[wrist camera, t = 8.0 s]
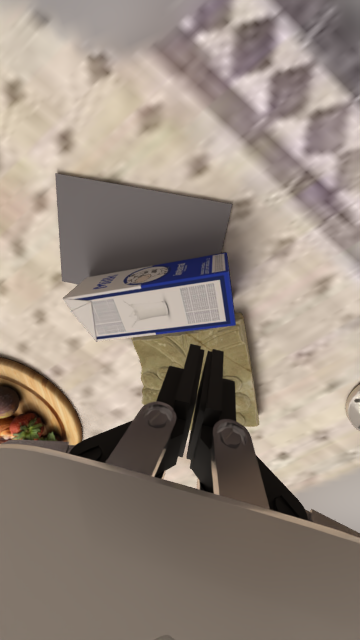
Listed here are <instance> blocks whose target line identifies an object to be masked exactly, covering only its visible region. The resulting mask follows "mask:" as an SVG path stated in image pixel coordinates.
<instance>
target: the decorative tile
mask: <svg viewBox="0 0 360 640" xmlns="http://www.w3.org/2000/svg"><path fill="white" fill-rule="evenodd" d="M234 314H235V321H236V325H235V326H227V327H219V328H210V329H201V330H193V331H184V332H175V333H167V334H158V335H149V336H141V337H132V338H131V339H132V341H133V344H134V347H135V350H136V352H137V354H138V356H139V359H140V363H141V366H142V372H141V374H142V375H141V381H142V383H143V385H144V387H143V389H142V394H143V397H142V403H143V404H144V405H146V404H148V403H150V402H156V400H157V397H158V395H159V392H160V389H161V387H162V384H163V381H164V378H165V376H166V373H167V370H168V368H169V366H174V367H178V368H182V369H184V365H185V362H186V358H187V354H188V351H189V347H190V344H194V345H198V346H201V349H203V350H205V351H204V357H203V363H202V369H201V375H200V381H201V377H202V373H203V369H204V365H205V361H206V356H207V352H208V351H212V350H213V349H216V350H220V351H224V360H223V378H224V379H228V380H233V381H235V396H236V422H238V423H240V424H242V425H243V426H247V427H254V426H258V425H259V417H258V411H257V403H256V396H255V389H254V382H253V376H252V367H251V361H250V355H249V348H248V343H247V336H246V330H245V324H244V319H243V316H242V314H241V313H239V312H238V313H234ZM200 381H199V385H200ZM198 389H199V387H198ZM197 393H198V392H197ZM194 410H195V408H194ZM193 416H194V413H193ZM192 422H193V417H192V421H191V425H190V429H189V430H191V428H192Z"/></svg>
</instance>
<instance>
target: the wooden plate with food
mask: <svg viewBox="0 0 360 640" xmlns="http://www.w3.org/2000/svg"><path fill="white" fill-rule="evenodd" d="M17 439H18V440H41V441H63V442H69V445H76V444H78V443H80V442H81V441H82V428H81V424H80V420H79V418H78V415H77V413H76V411H75V410H74V408H73V406H72V405H71V403H70V402H69V400H68V399H67V398H66V397H65V395H64V394H63V393H62V392H61V391H60V390H59V389H58V388H57V387H56V386H55V385H54V384H53V383H51V382H50V381H49V380H48V379H46V378H45V377H44V376H42V375H40V374H39V373H37V372H36V371H34V370H32V369H31V368H29V367H27V366H25V365H23V364H21V363H18V362H15V361H12V360H9V359H6V358H2V357H0V444H1V443H4V442H6V441H9V440H17Z"/></svg>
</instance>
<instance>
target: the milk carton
mask: <svg viewBox="0 0 360 640" xmlns="http://www.w3.org/2000/svg"><path fill="white" fill-rule="evenodd" d="M63 300H64V302H65V303H66V304H67V306H68V307H69V308H70V310H71V312H72V313H73V315H74V316H75V317H76V318H77V319H78V321H79V322H80V323H81V324H82V325H83V327H84V328H85V329H86V330H87V331H88V332H89V334H90V335H91V336H92V337H93V338H94V340H95V341H96V342H97V341H106V340H115V339H123V338H132V337H141V336H149V335H158V334H167V333H175V332H184V331H193V330H201V329H210V328H219V327H227V326H235V325H236V321H235V314H234V305H233V297H232V289H231V281H230V273H229V265H228V257H227V253H221V254H215V255H210V256H204V257H198V258H193V259H187V260H182V261H176V262H170V263H165V264H159V265H154V266H148V267H142V268H137V269H131V270H126V271H120V272H114V273H109V274H103V275H98V276H92V277H87V278H86V279H84V280H83V281H82V282H81V283H80V284H79V285H77V286H76V287H75V288H74V289H73V290H72V291H70V292H69V293H68V294H67V295H66V296H65V297H63Z"/></svg>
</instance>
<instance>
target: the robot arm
mask: <svg viewBox="0 0 360 640" xmlns="http://www.w3.org/2000/svg"><path fill="white" fill-rule="evenodd" d="M204 351H205V350H203V349H201V346H198V345H194V344H190V347H189V351H188V354H187V358H186V362H185V365H184V369H182V368H178V367H174V366H169V368H168V370H167V373H166V376H165V378H164V381H163V384H162V387H161V389H160V392H159V395H158V397H157V400H156V402H150V403H148V404H146V405H144V406H143V407H142V408H141V409H140V411H139V412H138V414H137V416H136V417H135V419H134V420H133V421H130V422H128V423H125V424H123V425H120V426H118V427H115V428H113V429H110V430H108V431H105V432H103V433H100V434H98V435H95V436H93V437H90V438H88V439H86V440H83V441H81V442H80V443H78V444H76V445H69V442H63V441H41V440H18V439H17V440H9V441H6V442H4V443H1V444H0V640H360V533H358V532H356V531H354V530H352V529H350V528H348V527H346V526H344V525H342V524H340V523H338V522H336V521H334V520H332V519H330V518H328V517H326V516H325V515H322V514H321V513H319V512H316V511H315V510H312V509H311V510H310V512H309V511H307V510H305V509H304V507H303V506H302V504H301V503H300V502H299V500H298V499H297V498H296V497H295V496H294V495H293V494H292V493H291V492H290V491H289V490H288V489H287V487H286V486H285V485H284V484H283V483H282V482H281V481H280V480H279V479H278V478H277V477H276V476H275V475H274V474H273V473H272V472H271V471H270V469H269V468H268V467H267V466H266V465H265V464H264V463H263V462H262V461H261V460H260V459H259V458H258V457H257V456H256V454H255V450H254V447H253V443H252V439H251V436H250V434H249V432H248V430H247V429H246V428H245V427H244V426H243V425H242V424H240V423H238V422H236V396H235V381H233V380H228V379H224V378H223V360H224V351H220V350H216V349H213V350H212V351H208V352H207V356H206V361H205V365H204V369H203V373H202V377H201V381H200V375H201V369H202V363H203V357H204ZM199 381H200V385H199ZM198 387H199V389H198ZM197 392H198V393H197ZM194 408H195V410H194ZM345 409H346V414H347V416H348V418H349V420H350V422H351V423H352V425H353V426H354V427H355V428H356V429H357V430H359V431H360V384H359V385H358V386H357V387H356V388H355V389H354V390H353V391H352V392H351V394H350V395H349V397H348V399H347V402H346V408H345ZM193 413H194V416H193ZM192 417H193V422H192V428H191V434H190V440H189V446H188V452H187V459H190V460H191V464H190V469H192V470H193V472H194V473H195V475H196V476H197V477H198V479H197V489H195V488H192V487H188V486H185V485H181V484H178V483H174V482H170V481H167V480H163V478H164V476H165V472H166V470H167V469H169V468H171V467H172V466H174V465H176V462H177V458H178V456H179V457H183V453H184V449H185V445H186V441H187V437H188V433H189V429H190V425H191V421H192Z"/></svg>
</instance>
